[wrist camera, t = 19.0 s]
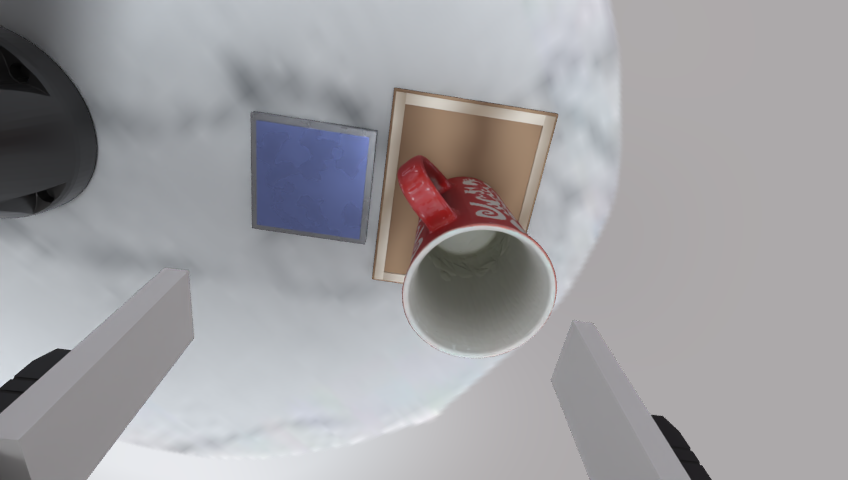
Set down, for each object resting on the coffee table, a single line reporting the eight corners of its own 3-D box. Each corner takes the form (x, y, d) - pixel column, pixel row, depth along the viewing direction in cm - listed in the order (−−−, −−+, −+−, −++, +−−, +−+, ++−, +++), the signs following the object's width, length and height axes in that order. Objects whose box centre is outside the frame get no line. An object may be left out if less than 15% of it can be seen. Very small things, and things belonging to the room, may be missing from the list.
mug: (531, 236, 38) (581, 323, 26) (441, 279, 40) (446, 380, 27) (467, 105, 34) (488, 133, 21) (369, 161, 36) (336, 216, 23)
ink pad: (255, 225, 39) (251, 229, 38) (254, 111, 35) (249, 112, 34) (365, 241, 39) (364, 245, 38) (377, 130, 35) (376, 132, 34)
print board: (372, 276, 41) (371, 280, 40) (394, 87, 34) (394, 88, 33) (507, 295, 41) (509, 299, 40) (556, 113, 34) (559, 114, 34)
